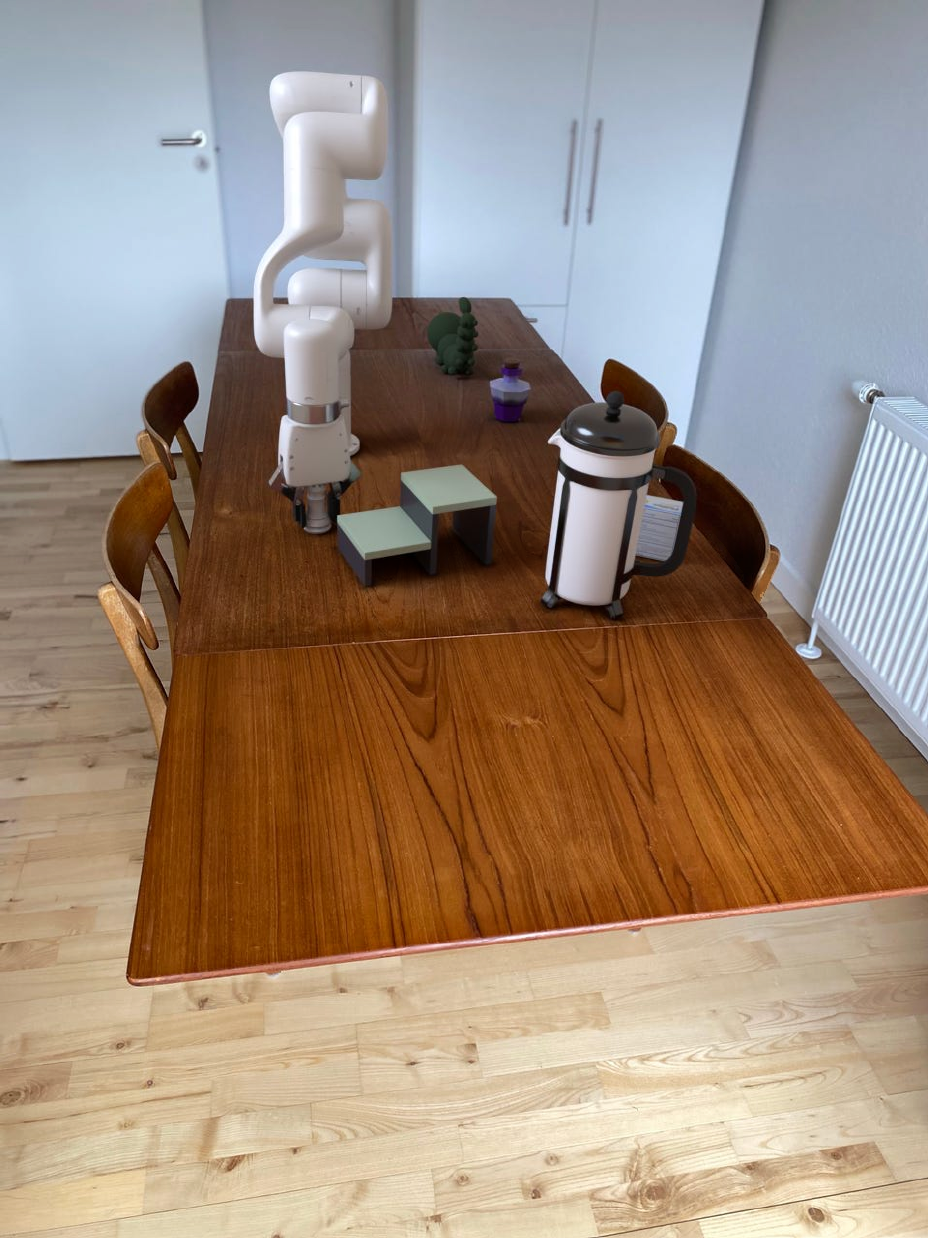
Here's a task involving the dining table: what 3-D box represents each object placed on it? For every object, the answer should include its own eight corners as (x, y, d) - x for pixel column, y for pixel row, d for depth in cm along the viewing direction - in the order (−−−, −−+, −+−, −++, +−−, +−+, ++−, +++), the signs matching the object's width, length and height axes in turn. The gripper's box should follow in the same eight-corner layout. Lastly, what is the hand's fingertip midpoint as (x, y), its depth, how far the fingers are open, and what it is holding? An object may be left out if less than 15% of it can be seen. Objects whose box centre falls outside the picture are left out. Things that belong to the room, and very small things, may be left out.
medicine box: (676, 551, 145) (686, 501, 140) (672, 564, 141) (682, 513, 136) (626, 541, 147) (635, 491, 142) (621, 553, 143) (630, 503, 138)
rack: (337, 547, 139) (336, 481, 133) (457, 528, 147) (461, 464, 141) (364, 587, 130) (364, 517, 124) (491, 563, 138) (497, 497, 132)
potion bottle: (515, 408, 194) (521, 351, 187) (535, 422, 188) (542, 364, 181) (479, 412, 191) (483, 354, 184) (498, 427, 184) (503, 368, 178)
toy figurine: (484, 390, 207) (456, 346, 225) (493, 306, 195) (462, 267, 214) (443, 392, 204) (418, 347, 223) (449, 307, 193) (423, 267, 211)
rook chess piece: (303, 521, 146) (301, 474, 141) (332, 521, 146) (331, 475, 142) (301, 534, 142) (299, 487, 138) (331, 535, 143) (330, 487, 138)
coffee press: (574, 637, 123) (606, 422, 106) (513, 580, 134) (535, 378, 118) (676, 611, 130) (722, 405, 114) (611, 558, 142) (644, 365, 125)
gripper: (359, 394, 140) (360, 504, 150) (249, 405, 133) (257, 519, 143) (377, 412, 134) (376, 524, 144) (262, 424, 128) (269, 541, 137)
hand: (316, 520), depth 143 cm, fingers closed on rook chess piece, 4 cm apart
